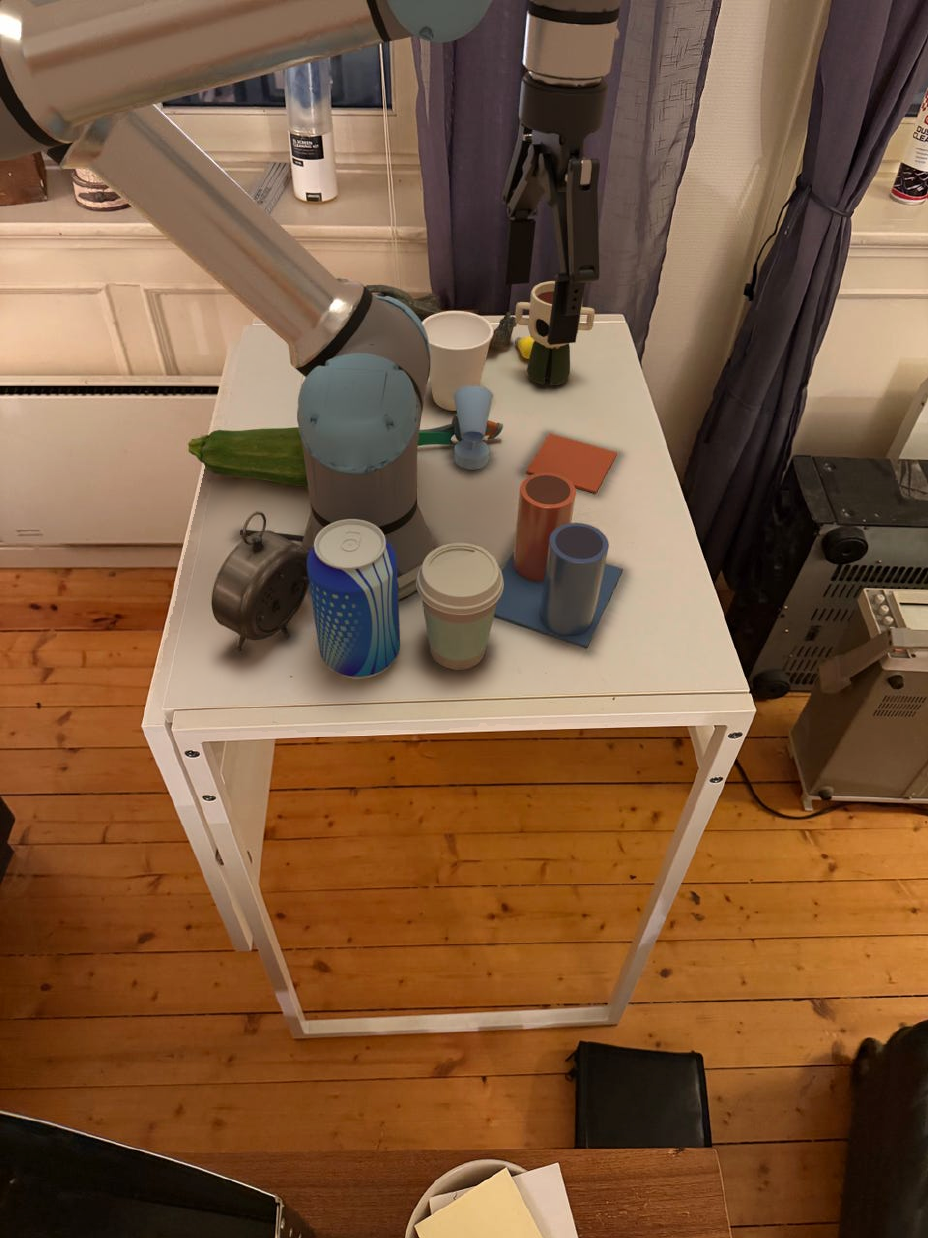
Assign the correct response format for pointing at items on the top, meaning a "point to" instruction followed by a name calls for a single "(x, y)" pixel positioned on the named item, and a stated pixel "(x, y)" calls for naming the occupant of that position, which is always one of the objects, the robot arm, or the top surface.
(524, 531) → the terracotta tumbler
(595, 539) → the blue tumbler
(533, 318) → the character mug
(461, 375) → the cup
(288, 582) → the alarm clock
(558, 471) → the terracotta mat
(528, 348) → the light bulb
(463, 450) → the spotlight
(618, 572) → the blue mat
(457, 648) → the coffee cup
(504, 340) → the statue
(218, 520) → the top surface
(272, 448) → the vegetable
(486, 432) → the knife
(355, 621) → the beer can
